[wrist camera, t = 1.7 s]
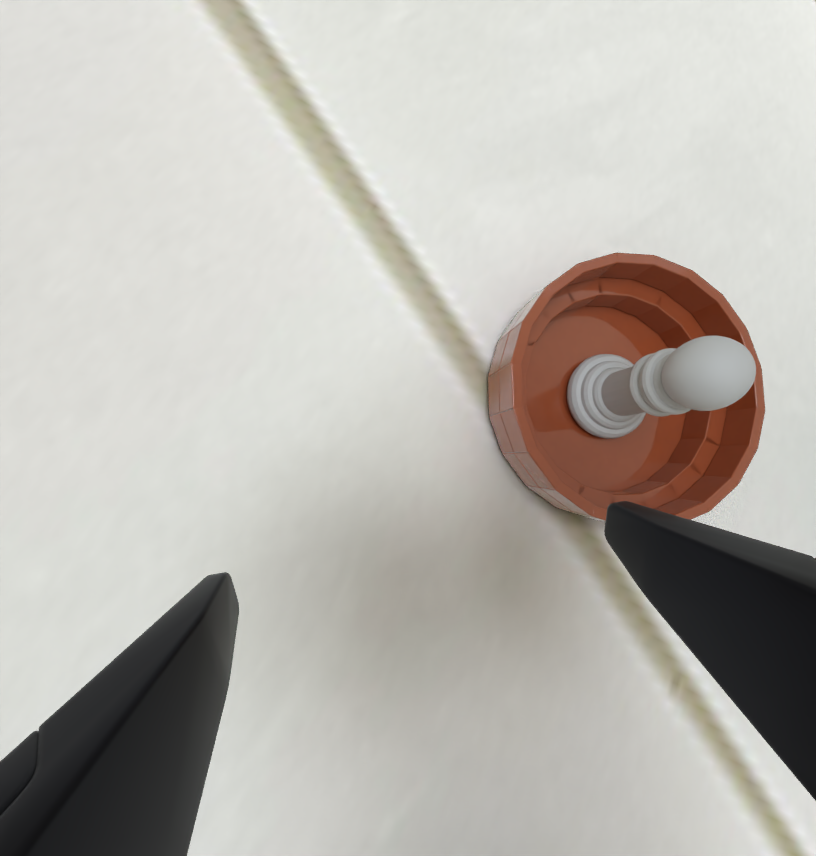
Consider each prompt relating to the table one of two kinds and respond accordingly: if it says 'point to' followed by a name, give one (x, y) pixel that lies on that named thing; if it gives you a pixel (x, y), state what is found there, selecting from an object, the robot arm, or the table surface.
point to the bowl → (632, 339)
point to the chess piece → (658, 384)
